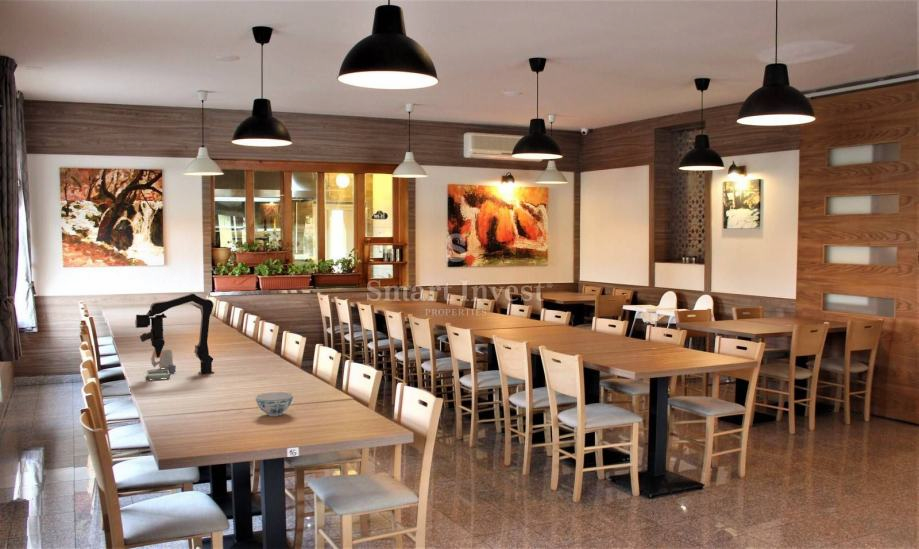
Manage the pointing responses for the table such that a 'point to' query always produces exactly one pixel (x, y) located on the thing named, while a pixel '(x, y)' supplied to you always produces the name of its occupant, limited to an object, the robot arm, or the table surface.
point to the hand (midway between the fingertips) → (157, 356)
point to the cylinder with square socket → (170, 368)
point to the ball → (156, 355)
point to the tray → (158, 374)
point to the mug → (163, 359)
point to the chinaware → (274, 402)
